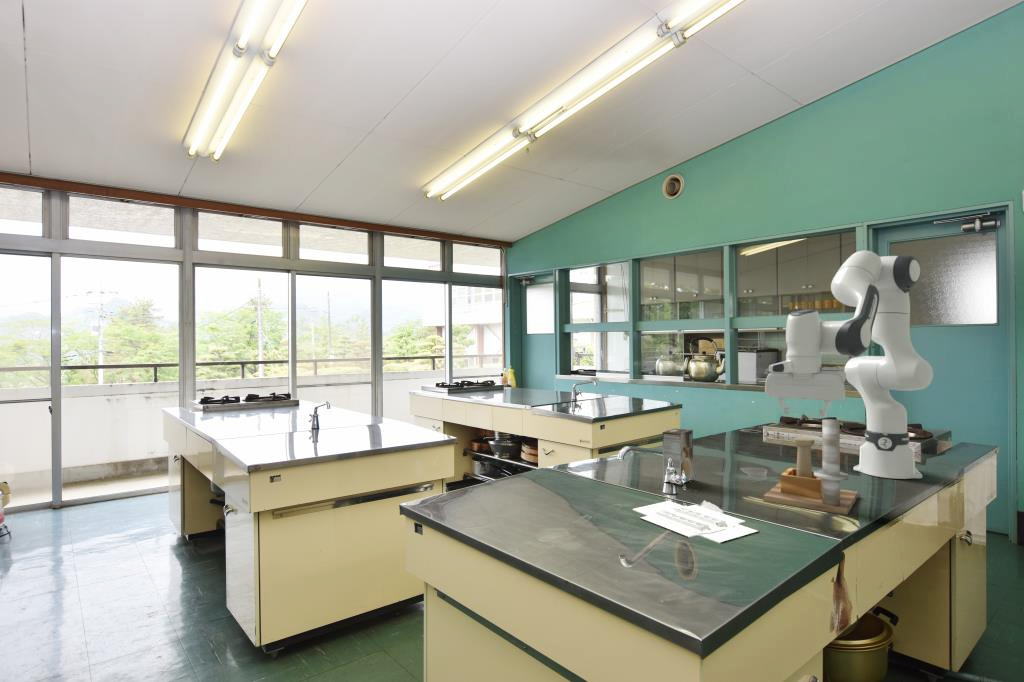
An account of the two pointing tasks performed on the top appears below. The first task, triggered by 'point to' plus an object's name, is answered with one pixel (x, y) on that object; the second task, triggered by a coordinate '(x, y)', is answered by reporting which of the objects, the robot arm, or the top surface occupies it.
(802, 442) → the handle
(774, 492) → the rosette stand
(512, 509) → the top surface
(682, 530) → the stacked white papers
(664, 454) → the coffee box
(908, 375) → the robot arm
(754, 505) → the top surface
